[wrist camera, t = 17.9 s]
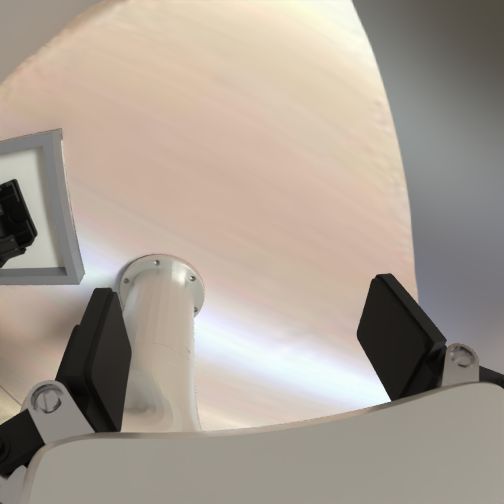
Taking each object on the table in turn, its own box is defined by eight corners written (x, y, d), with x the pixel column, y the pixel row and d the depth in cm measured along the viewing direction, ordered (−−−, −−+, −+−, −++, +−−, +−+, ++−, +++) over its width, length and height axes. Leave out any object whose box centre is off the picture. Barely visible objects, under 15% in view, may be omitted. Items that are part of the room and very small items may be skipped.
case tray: (84, 273, 43) (79, 284, 40) (-17, 275, 39) (-24, 284, 37) (61, 128, 33) (51, 131, 30) (-46, 154, 29) (-58, 159, 27)
